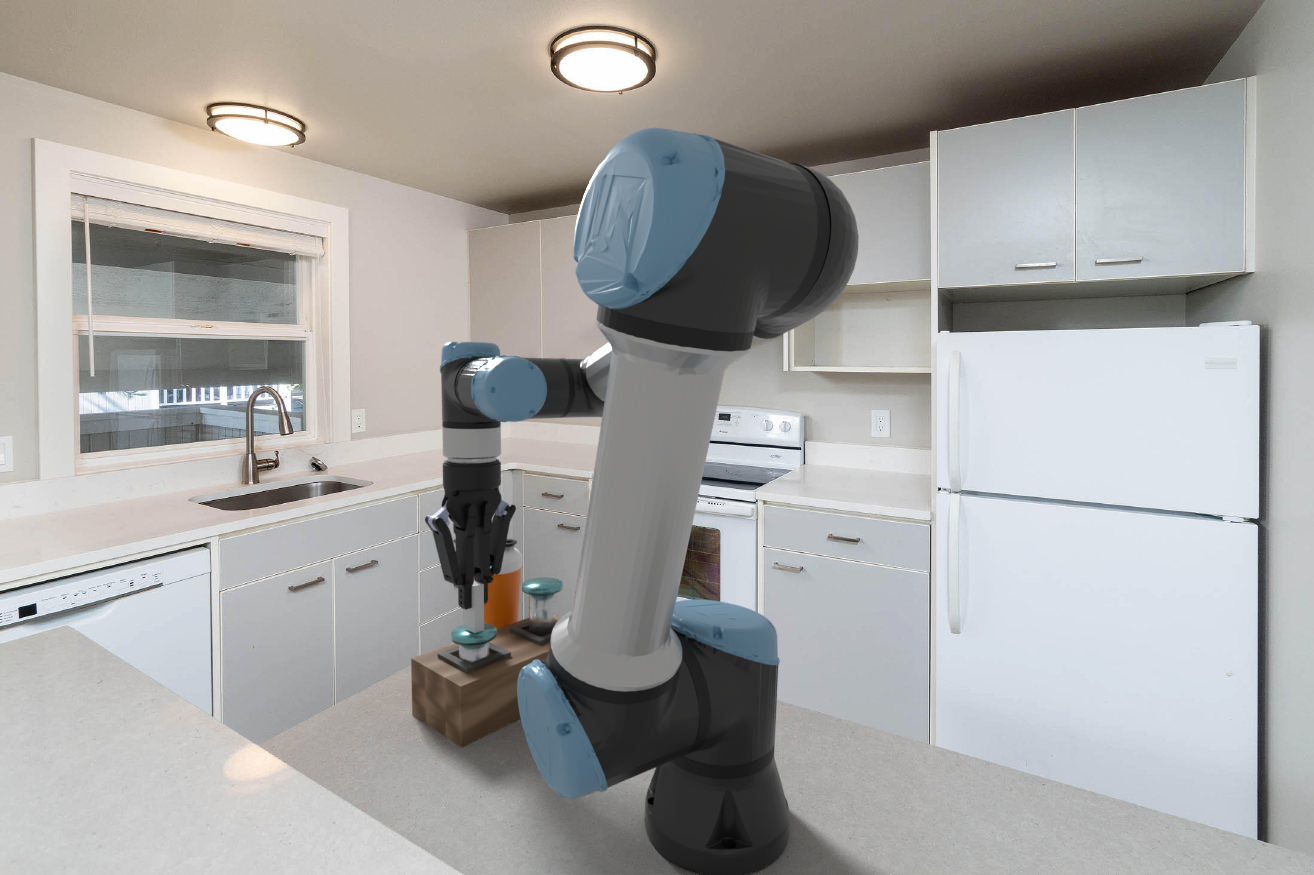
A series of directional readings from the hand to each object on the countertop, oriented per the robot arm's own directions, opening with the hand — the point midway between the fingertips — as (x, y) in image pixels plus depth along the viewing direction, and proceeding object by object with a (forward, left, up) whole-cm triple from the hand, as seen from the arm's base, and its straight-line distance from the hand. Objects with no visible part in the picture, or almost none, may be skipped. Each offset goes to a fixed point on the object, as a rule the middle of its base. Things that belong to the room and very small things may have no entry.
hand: (473, 628), depth 89 cm
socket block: (0, -6, -12) cm, 13 cm away
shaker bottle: (+12, -12, -12) cm, 21 cm away
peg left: (0, 0, -10) cm, 10 cm away
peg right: (0, -12, -6) cm, 13 cm away
